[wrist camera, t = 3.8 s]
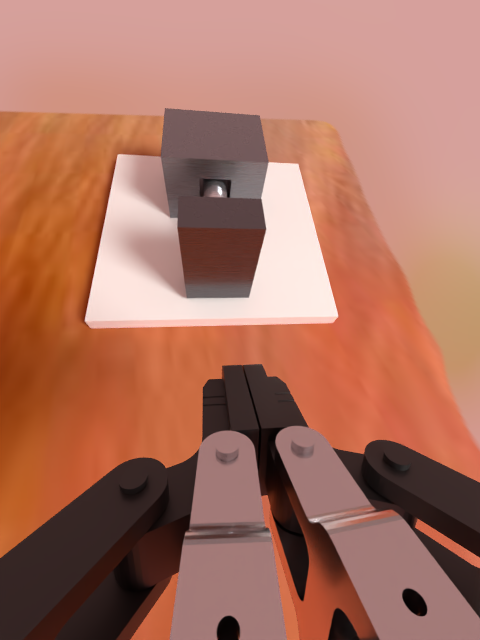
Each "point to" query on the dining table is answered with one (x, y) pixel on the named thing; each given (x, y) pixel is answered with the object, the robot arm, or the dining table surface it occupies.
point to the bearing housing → (212, 154)
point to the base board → (166, 264)
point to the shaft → (219, 242)
